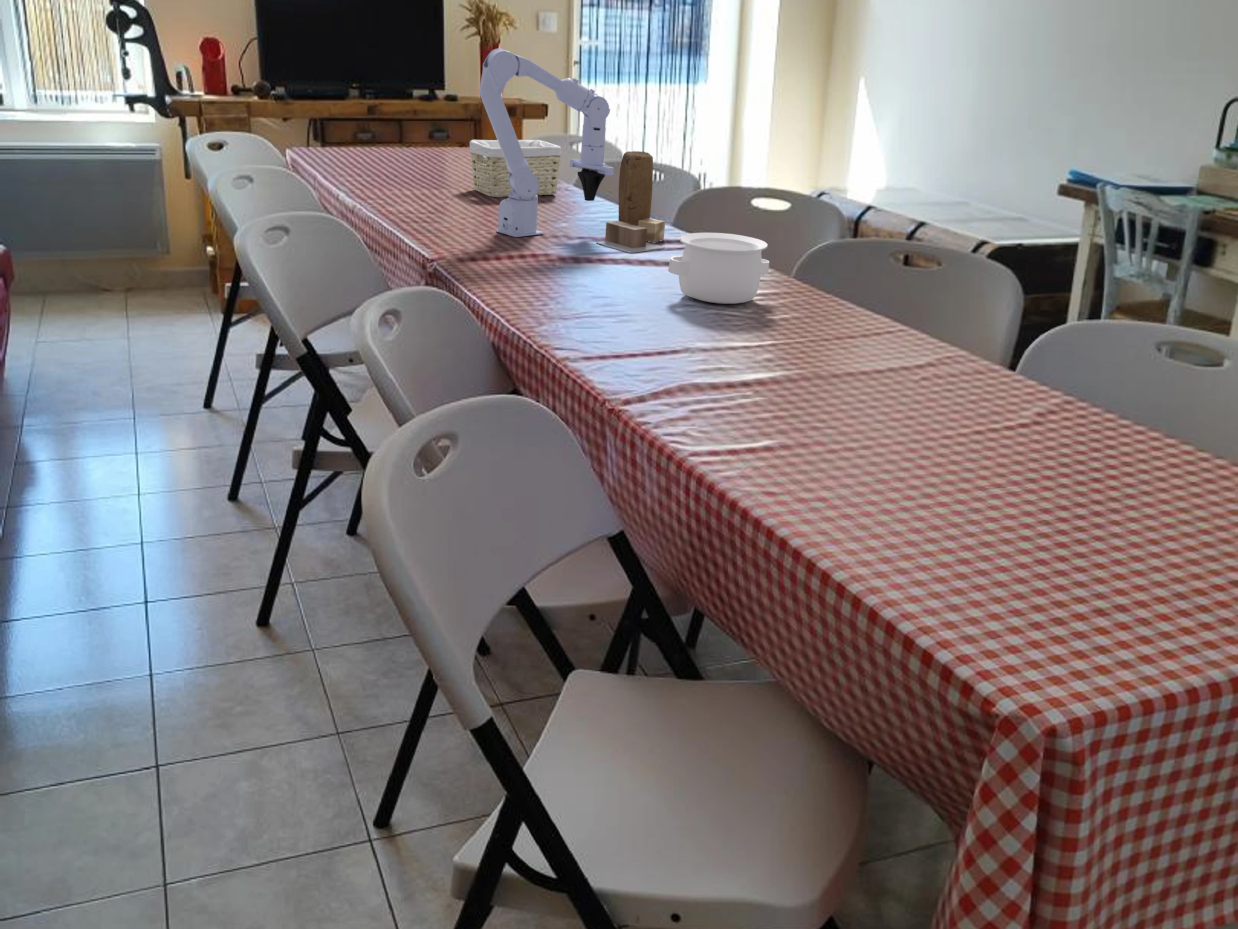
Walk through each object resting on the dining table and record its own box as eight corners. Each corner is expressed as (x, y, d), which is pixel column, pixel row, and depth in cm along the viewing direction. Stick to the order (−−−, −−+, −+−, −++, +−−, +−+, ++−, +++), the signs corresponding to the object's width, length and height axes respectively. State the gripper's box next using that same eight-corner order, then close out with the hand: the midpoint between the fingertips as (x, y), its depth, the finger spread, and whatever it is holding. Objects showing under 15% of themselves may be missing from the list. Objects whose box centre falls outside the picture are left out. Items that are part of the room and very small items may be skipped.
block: (650, 234, 300) (656, 155, 292) (622, 233, 298) (628, 154, 291) (640, 225, 310) (646, 149, 302) (613, 225, 308) (618, 148, 300)
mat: (629, 253, 276) (629, 251, 276) (596, 243, 284) (596, 242, 284) (664, 248, 284) (664, 247, 284) (631, 239, 292) (631, 238, 292)
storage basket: (488, 198, 333) (489, 146, 327) (466, 189, 346) (467, 138, 340) (561, 196, 344) (564, 146, 339) (538, 187, 357) (540, 138, 352)
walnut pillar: (605, 240, 287) (632, 248, 281) (606, 222, 285) (634, 229, 279) (618, 238, 290) (645, 246, 284) (619, 220, 288) (647, 228, 282)
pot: (682, 310, 230) (687, 250, 225) (654, 289, 245) (659, 232, 240) (782, 309, 236) (789, 250, 232) (748, 288, 251) (755, 232, 247)
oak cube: (653, 243, 290) (655, 223, 288) (636, 240, 292) (638, 220, 290) (663, 240, 294) (665, 221, 292) (646, 237, 296) (648, 218, 294)
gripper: (624, 149, 284) (620, 204, 289) (585, 140, 293) (582, 194, 299) (603, 149, 279) (599, 206, 284) (564, 141, 289) (561, 195, 294)
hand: (589, 200), depth 291 cm, fingers closed
